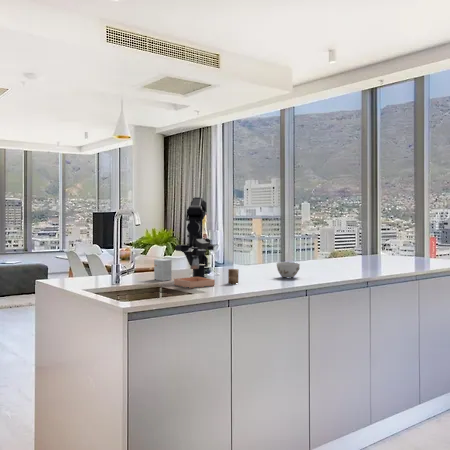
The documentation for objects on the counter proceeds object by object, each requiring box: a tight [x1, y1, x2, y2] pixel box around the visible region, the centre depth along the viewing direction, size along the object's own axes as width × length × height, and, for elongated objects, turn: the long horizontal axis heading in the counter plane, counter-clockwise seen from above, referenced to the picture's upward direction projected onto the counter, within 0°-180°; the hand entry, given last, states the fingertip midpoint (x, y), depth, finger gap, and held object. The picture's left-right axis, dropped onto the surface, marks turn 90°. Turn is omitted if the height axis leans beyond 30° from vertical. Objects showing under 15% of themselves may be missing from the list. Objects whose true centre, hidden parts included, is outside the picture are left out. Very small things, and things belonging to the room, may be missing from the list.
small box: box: [153, 258, 173, 282], centre depth 268 cm, size 8×6×10 cm
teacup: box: [276, 261, 301, 278], centre depth 282 cm, size 15×12×8 cm
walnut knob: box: [227, 268, 239, 285], centre depth 257 cm, size 5×5×7 cm
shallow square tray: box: [173, 276, 216, 289], centre depth 249 cm, size 14×14×3 cm
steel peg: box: [189, 256, 200, 270], centre depth 248 cm, size 4×4×6 cm
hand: (194, 265), depth 248 cm, fingers closed on steel peg, 4 cm apart
